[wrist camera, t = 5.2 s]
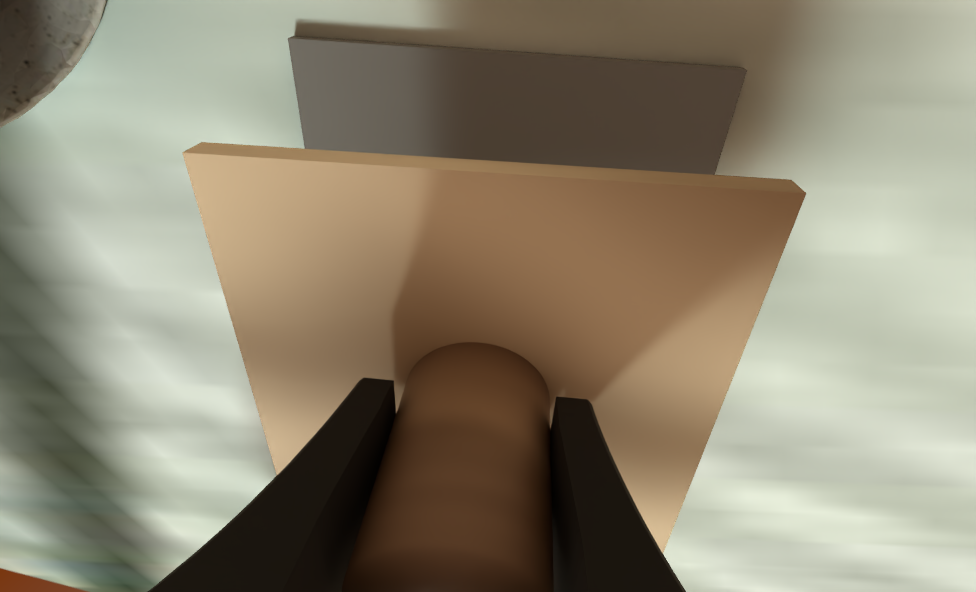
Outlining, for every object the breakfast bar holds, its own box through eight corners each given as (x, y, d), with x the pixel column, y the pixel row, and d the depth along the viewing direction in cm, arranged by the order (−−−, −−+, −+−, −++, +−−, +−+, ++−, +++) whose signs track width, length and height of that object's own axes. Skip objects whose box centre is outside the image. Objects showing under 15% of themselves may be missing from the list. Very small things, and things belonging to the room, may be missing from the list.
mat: (652, 358, 21) (654, 365, 21) (337, 329, 21) (334, 335, 21) (742, 67, 15) (746, 70, 14) (293, 36, 15) (287, 38, 15)
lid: (658, 533, 15) (705, 765, 10) (297, 498, 15) (204, 705, 11) (790, 179, 9) (1017, 378, 5) (201, 142, 9) (-73, 291, 5)
